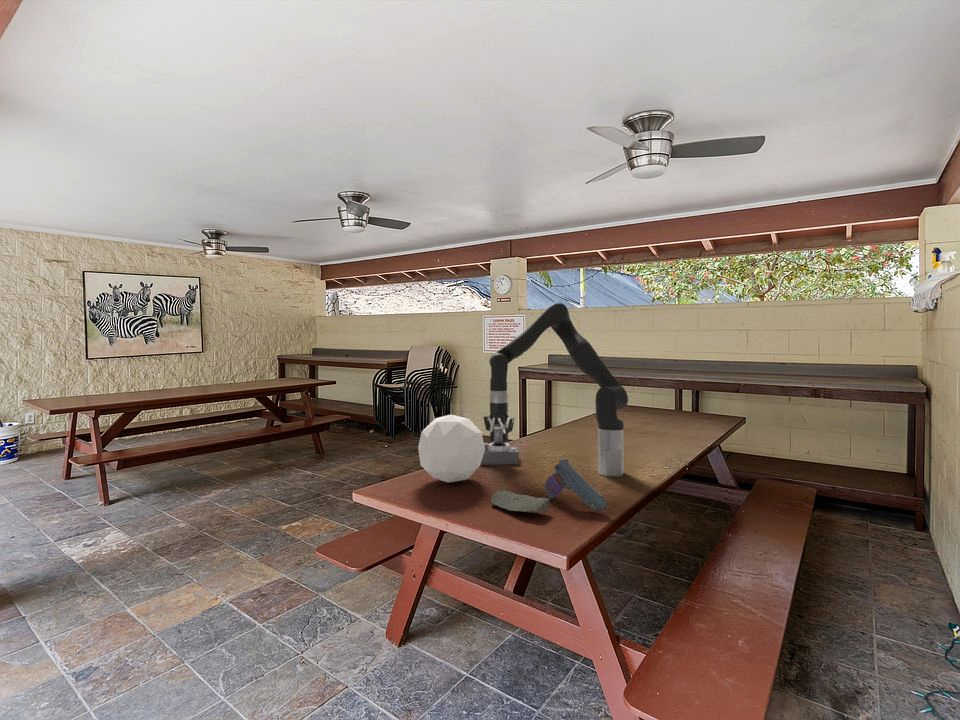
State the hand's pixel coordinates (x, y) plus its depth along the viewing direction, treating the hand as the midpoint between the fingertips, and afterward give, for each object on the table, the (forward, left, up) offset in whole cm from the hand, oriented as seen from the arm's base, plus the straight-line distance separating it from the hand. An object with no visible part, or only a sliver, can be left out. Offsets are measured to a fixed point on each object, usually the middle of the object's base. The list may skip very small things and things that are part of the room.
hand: (499, 441), depth 208 cm
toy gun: (-49, -19, -12) cm, 54 cm away
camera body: (0, 0, -9) cm, 9 cm away
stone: (-58, -1, -9) cm, 59 cm away
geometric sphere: (-27, +18, -10) cm, 34 cm away
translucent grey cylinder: (0, 0, -2) cm, 3 cm away
